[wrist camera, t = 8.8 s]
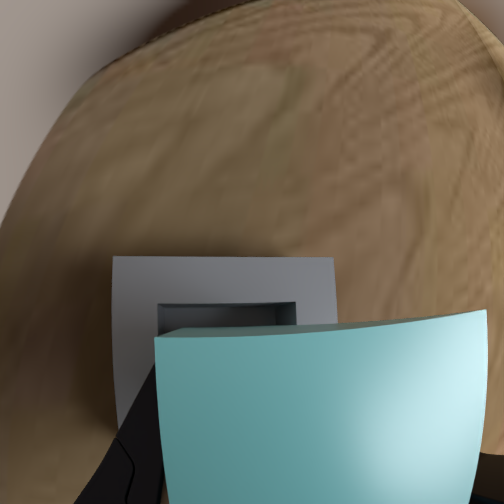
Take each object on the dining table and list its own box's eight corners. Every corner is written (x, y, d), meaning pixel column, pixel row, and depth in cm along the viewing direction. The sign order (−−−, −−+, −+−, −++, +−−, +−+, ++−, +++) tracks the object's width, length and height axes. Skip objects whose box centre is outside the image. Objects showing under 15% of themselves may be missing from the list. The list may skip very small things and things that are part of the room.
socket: (304, 271, 19) (333, 257, 15) (309, 436, 17) (338, 458, 13) (129, 271, 17) (113, 256, 13) (137, 446, 15) (125, 475, 11)
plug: (264, 325, 16) (485, 309, 3) (267, 403, 15) (455, 545, 3) (182, 327, 15) (154, 337, 3) (186, 407, 14) (196, 621, 2)
